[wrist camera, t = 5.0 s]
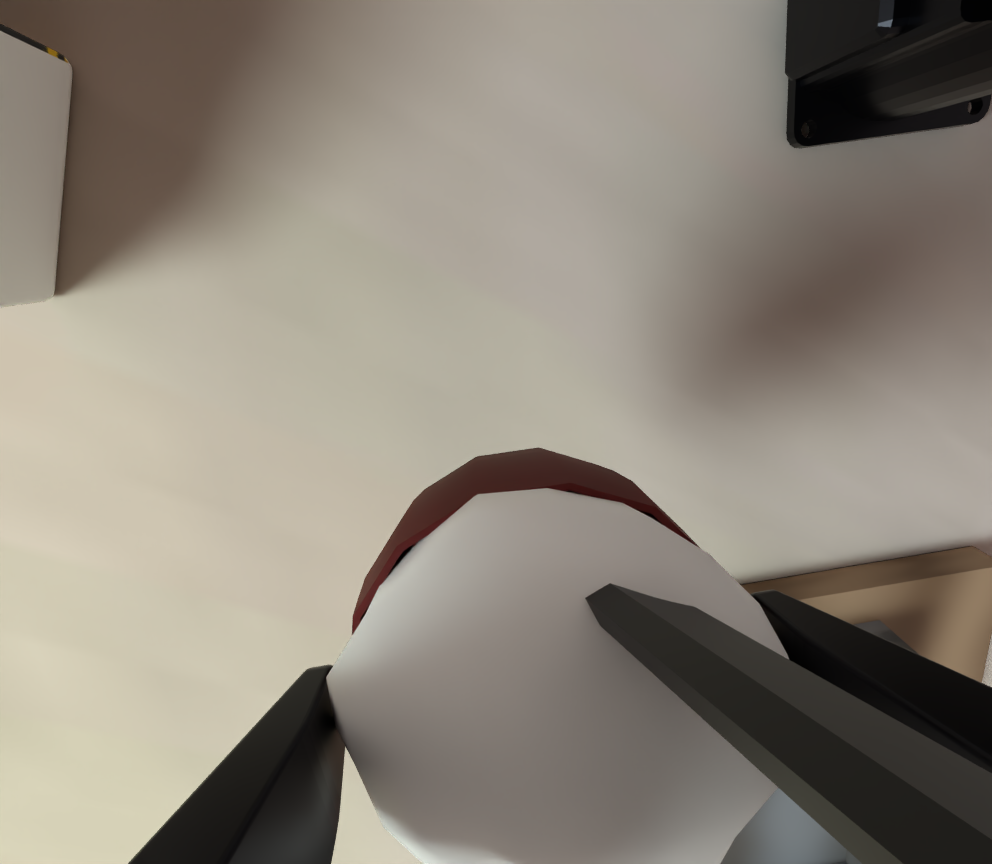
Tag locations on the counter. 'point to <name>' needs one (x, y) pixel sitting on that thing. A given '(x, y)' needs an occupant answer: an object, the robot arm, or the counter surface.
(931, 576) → the tray stand
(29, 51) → the medicine bottle
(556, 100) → the counter surface
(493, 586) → the cocoa
